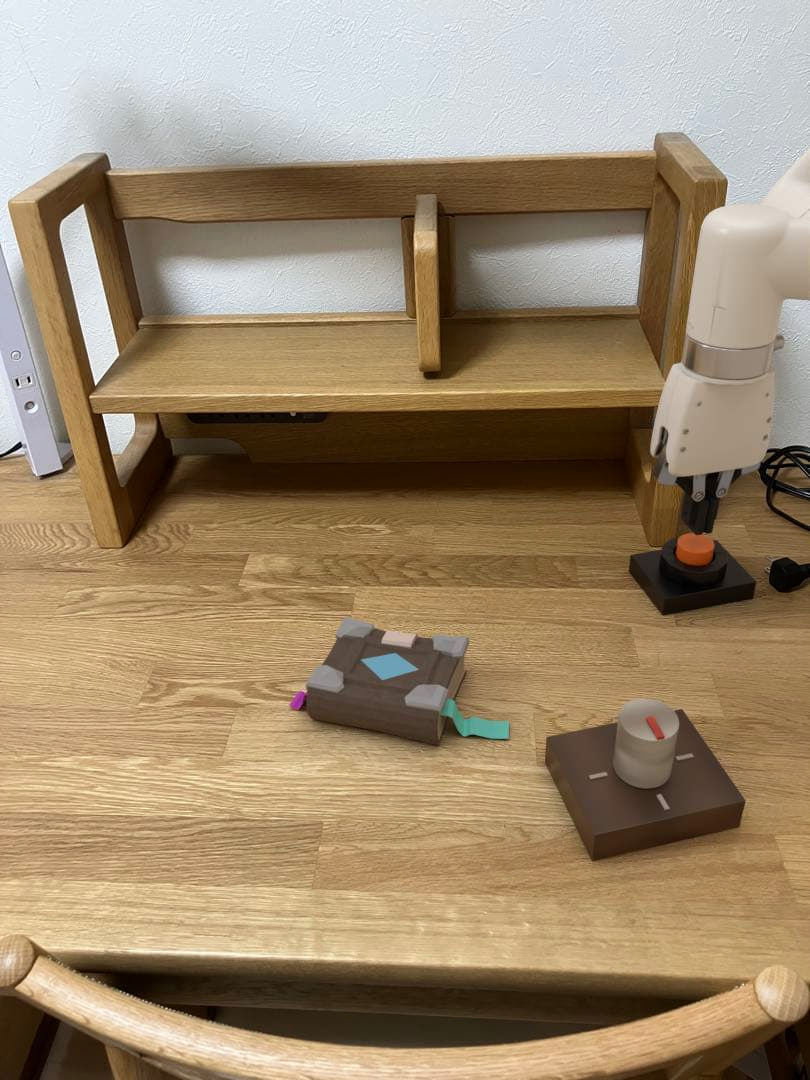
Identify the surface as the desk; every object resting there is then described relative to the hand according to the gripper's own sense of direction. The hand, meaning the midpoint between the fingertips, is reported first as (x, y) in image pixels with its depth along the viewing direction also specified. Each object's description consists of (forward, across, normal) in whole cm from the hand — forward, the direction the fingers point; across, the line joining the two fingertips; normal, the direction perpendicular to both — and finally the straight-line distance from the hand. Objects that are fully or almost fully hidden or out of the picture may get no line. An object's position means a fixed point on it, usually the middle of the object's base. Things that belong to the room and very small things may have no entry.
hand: (696, 526), depth 90 cm
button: (+4, 0, 0) cm, 4 cm away
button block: (+7, 0, 0) cm, 7 cm away
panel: (+7, +17, +24) cm, 30 cm away
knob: (+4, +17, +24) cm, 30 cm away
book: (+8, +32, +8) cm, 34 cm away
